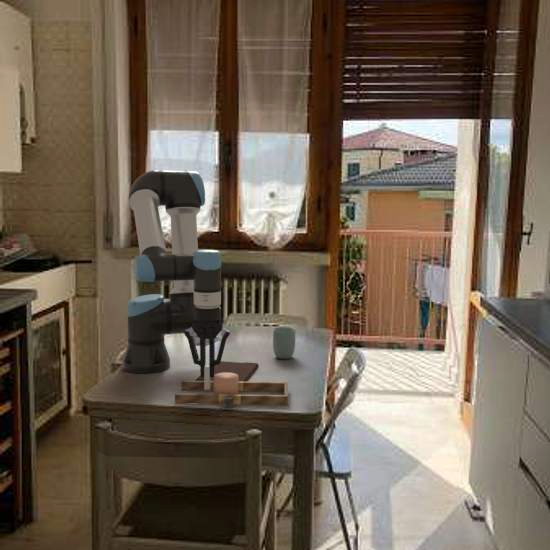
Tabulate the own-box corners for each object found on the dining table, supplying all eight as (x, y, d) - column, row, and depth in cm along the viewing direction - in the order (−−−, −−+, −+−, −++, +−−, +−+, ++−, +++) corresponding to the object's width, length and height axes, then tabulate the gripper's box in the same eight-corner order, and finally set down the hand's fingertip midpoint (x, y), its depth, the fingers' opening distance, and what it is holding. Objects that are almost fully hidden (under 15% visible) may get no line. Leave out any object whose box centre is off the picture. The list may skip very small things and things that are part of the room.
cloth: (215, 350, 221) (215, 344, 221) (178, 349, 222) (178, 343, 222) (226, 333, 247) (226, 327, 246) (193, 332, 248) (193, 326, 247)
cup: (292, 361, 206) (293, 332, 205) (270, 359, 208) (270, 331, 206) (296, 355, 214) (297, 327, 212) (275, 353, 215) (275, 326, 214)
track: (173, 406, 163) (173, 397, 163) (181, 388, 177) (181, 380, 177) (288, 408, 163) (288, 399, 162) (287, 390, 177) (287, 382, 177)
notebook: (194, 384, 183) (194, 377, 183) (214, 365, 202) (214, 359, 202) (242, 388, 180) (242, 381, 180) (258, 368, 199) (258, 362, 199)
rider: (212, 400, 168) (212, 380, 167) (214, 392, 175) (214, 372, 174) (237, 401, 168) (237, 380, 167) (239, 392, 175) (239, 372, 174)
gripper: (181, 308, 164) (182, 392, 167) (229, 309, 163) (229, 393, 167) (186, 303, 171) (186, 383, 175) (231, 303, 171) (231, 384, 174)
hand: (207, 388), depth 171 cm, fingers closed
